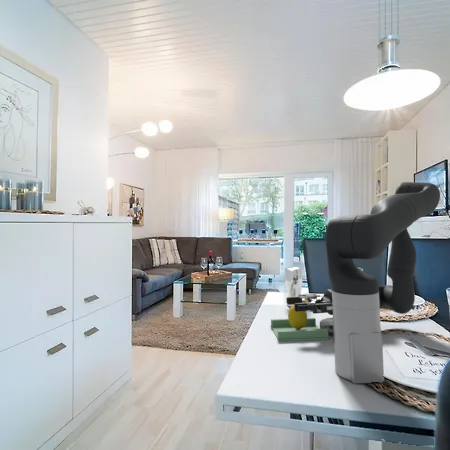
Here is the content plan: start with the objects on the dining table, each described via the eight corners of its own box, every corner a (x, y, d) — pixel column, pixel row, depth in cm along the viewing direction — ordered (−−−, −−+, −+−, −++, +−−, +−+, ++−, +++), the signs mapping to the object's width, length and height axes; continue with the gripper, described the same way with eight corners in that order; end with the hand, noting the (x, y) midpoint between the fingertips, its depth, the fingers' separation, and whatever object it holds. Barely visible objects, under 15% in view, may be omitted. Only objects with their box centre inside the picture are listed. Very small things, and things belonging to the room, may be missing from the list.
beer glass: (282, 304, 126) (281, 268, 126) (297, 302, 128) (296, 267, 128) (291, 308, 119) (289, 270, 120) (306, 306, 121) (305, 268, 122)
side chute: (329, 339, 84) (328, 330, 84) (278, 341, 84) (278, 332, 84) (314, 324, 97) (313, 317, 98) (270, 326, 97) (270, 318, 97)
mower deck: (379, 337, 84) (379, 330, 84) (329, 339, 84) (329, 332, 84) (357, 322, 98) (356, 316, 98) (313, 324, 98) (313, 318, 98)
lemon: (308, 333, 88) (307, 306, 88) (288, 333, 89) (287, 305, 89) (307, 328, 93) (305, 301, 93) (288, 327, 94) (287, 301, 94)
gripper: (332, 285, 99) (283, 287, 98) (353, 293, 85) (297, 296, 84) (333, 308, 99) (284, 310, 98) (355, 320, 85) (298, 323, 84)
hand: (290, 304), depth 91 cm, fingers open, 8 cm apart
